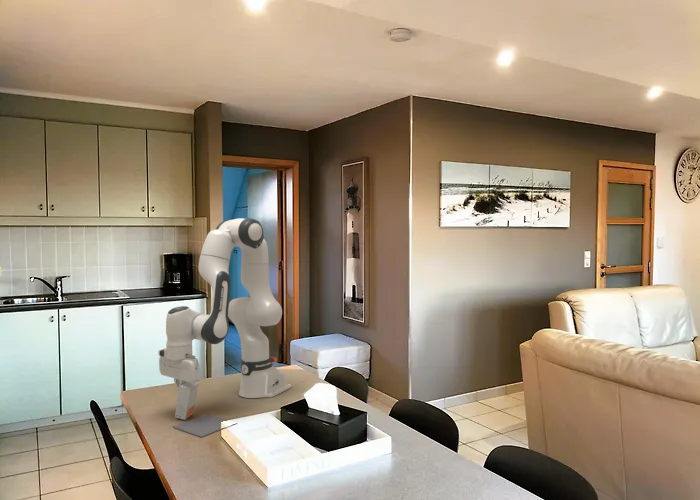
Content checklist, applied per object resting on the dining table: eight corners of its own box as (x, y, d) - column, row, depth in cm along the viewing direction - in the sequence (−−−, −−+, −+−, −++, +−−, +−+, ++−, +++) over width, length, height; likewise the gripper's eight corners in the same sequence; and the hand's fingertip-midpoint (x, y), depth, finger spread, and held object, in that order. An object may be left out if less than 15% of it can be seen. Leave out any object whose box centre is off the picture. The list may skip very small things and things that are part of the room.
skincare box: (185, 420, 187) (190, 389, 185) (174, 417, 188) (179, 386, 186) (193, 413, 193) (198, 383, 191) (183, 410, 194) (188, 379, 192)
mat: (208, 414, 192) (208, 413, 192) (237, 423, 183) (237, 422, 183) (172, 427, 180) (172, 426, 180) (201, 437, 171) (201, 436, 171)
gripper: (204, 354, 186) (205, 393, 187) (170, 347, 199) (171, 384, 199) (189, 358, 181) (190, 398, 182) (155, 350, 194) (156, 388, 194)
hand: (180, 390), depth 190 cm, fingers closed
